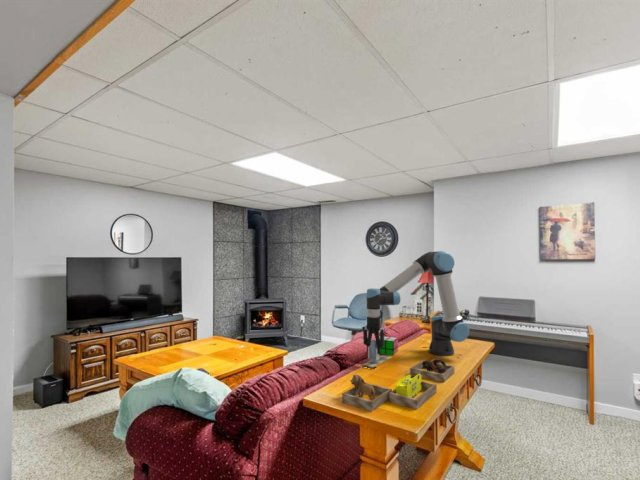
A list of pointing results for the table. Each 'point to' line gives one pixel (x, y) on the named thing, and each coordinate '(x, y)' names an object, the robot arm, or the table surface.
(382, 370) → the table surface
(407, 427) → the table surface
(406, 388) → the yellow toy chassis
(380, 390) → the figurine organizer frame
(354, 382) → the lion figurine
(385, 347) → the puzzle cube
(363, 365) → the track
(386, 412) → the table surface
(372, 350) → the blue-grey rounded peg
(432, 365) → the pottery mug
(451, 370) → the frame
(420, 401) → the camera organizer frame
